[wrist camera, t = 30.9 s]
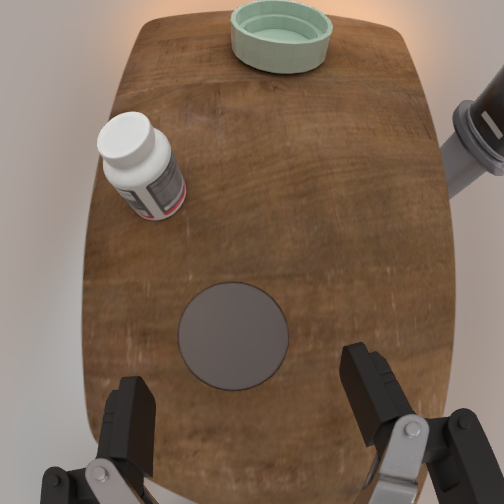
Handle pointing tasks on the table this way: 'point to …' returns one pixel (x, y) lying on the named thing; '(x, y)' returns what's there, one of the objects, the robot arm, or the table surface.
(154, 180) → the pill bottle
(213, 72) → the table surface
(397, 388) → the robot arm
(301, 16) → the bowl
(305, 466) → the table surface
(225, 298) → the dark cylinder
